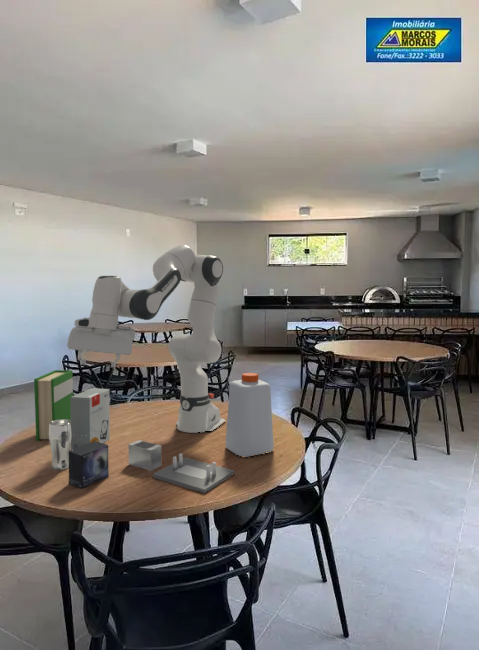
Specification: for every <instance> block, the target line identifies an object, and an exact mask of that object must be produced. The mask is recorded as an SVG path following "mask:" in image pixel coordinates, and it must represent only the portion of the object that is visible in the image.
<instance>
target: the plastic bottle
mask: <svg viewBox="0 0 479 650" xmlns="http://www.w3.org/2000/svg"><path fill="white" fill-rule="evenodd" d="M228 391H229V393H228V394H229V395H228V406H227V407H228V408H227V416H226V417H227V419H226V421H227V422H226V433H225V434H226V435H225V447H226V449H227V450H229V451H230V452H231V453H233V454H234V453H235V454H234V455H236V456H237V455H239V456H238V457H240V456H245V457H248V456H253V455H258V454H262V453H266V452H270V451H272V450H274V431H273V412H272V410H273V409H272V395H271V394H272V393H271V385H270V383H268V382H267V381H263V380H261V379H259V374H258V373H255V372H244V373H242V374H241V379H236V380H231V382H230V384H229V390H228ZM272 452H273V451H272ZM270 453H271V452H270ZM245 457H244V458H245ZM248 458H249V457H248Z"/></svg>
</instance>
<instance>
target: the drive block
mask: <svg viewBox="0 0 479 650" xmlns="http://www.w3.org/2000/svg"><path fill="white" fill-rule="evenodd" d="M128 465H130V466H133V467H137V468H140V469H143V470H147V471H150V472H153V471H154V470H156V469H158V468H160V467H162V445H160V444H156V443H152V442H149V441H145V440H140V439H138V440H136V441H133V442H131V443H128Z"/></svg>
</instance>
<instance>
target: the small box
mask: <svg viewBox="0 0 479 650" xmlns="http://www.w3.org/2000/svg"><path fill="white" fill-rule="evenodd" d="M68 453H69V468H68V484H69V485H71V486H74V487H76V488H79V489H85V488H87V487H89V486H91V485H93V484H95V483H97V482H100V481H102V480H105V479H107V478H109V475H110V473H109V445H108V444H105V443H100V442H97V441H94V442H92V443H89V444H86V445H83V446H80V447H77V448H75V449H72V450H71V449H70V450H69V451H68Z"/></svg>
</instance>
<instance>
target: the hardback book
mask: <svg viewBox="0 0 479 650" xmlns="http://www.w3.org/2000/svg"><path fill="white" fill-rule="evenodd" d="M33 381H34V382H33V383H34V384H33V385H34V386H33V387H34V388H33V389H34V409H35V410H34V412H35V413H34V414H35V415H34V416H35V417H34V418H35V437H36V438H35V440H36V442H40V441H41V440H49V423H50V422H52V421H55V420H61V419H66V420H70V421H71V404H70V398H71V397H72V396H74V385H73V384H74V382H73V381H74V378H73V370H70V369H69V370H67V369H65V370H61V369H59V370H58V369H56V370H53V371H50V372H48V373H46V374H45V373H44V374H43V375H41V376H39V377H36V378H33Z"/></svg>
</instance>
